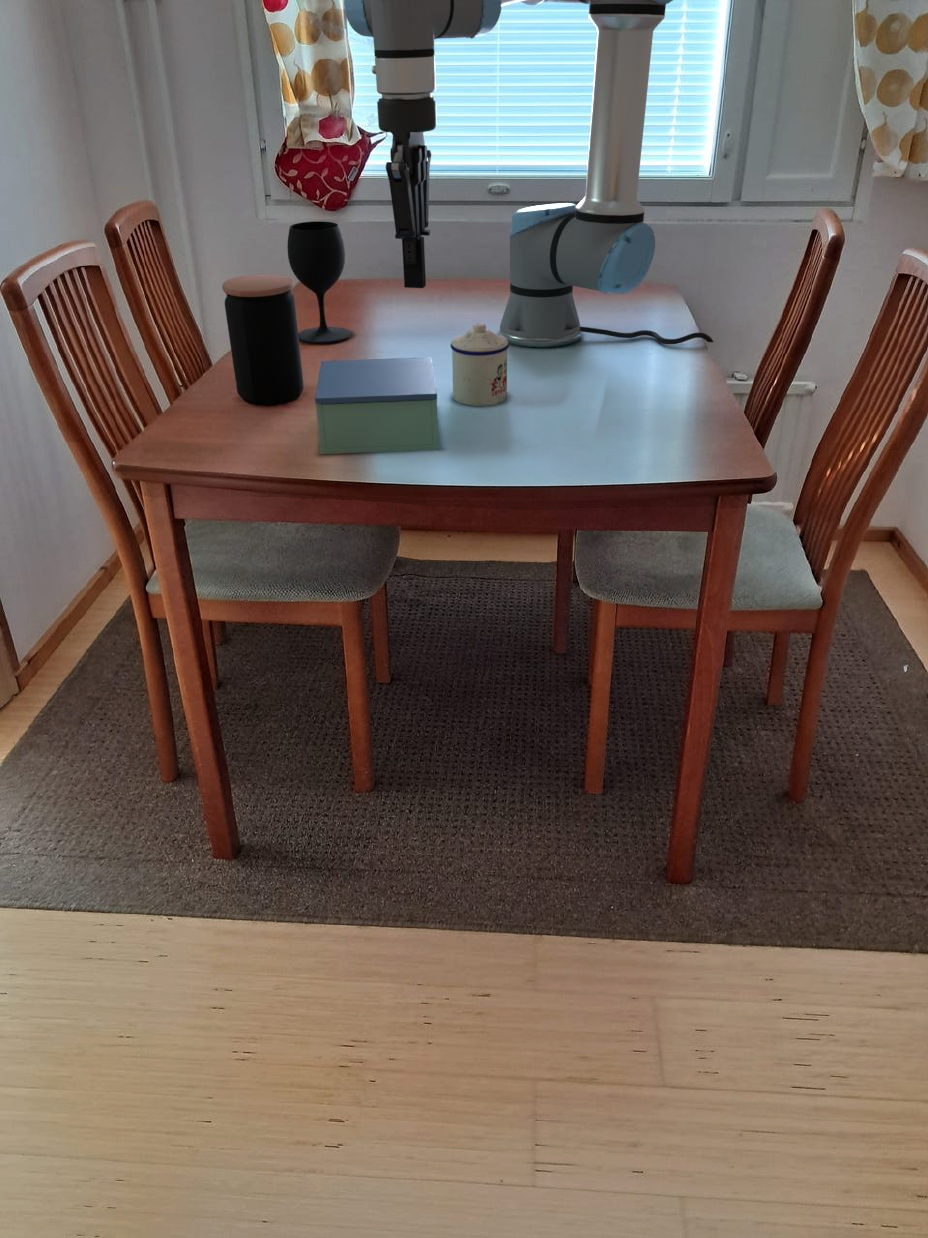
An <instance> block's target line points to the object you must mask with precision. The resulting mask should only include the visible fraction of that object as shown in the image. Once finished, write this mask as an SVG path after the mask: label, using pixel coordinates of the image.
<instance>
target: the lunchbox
mask: <svg viewBox="0 0 928 1238" xmlns="http://www.w3.org/2000/svg"><path fill="white" fill-rule="evenodd" d="M315 409H316V418H317V427H318V429H317V430H318V437H319V438H318V439H319V449H320V455H335V454H336V455H337V454H360V453H361V454H363V453H385V452H386V453H387V452H408V451H410V452H411V451H431V450H432V451H433V450H434V451H435V450H439V424H438V422H439V421H438V420H439V419H438V398H437V399H430V400H404V401H379V402H353V403H328V404H315Z"/></svg>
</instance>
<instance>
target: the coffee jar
mask: <svg viewBox="0 0 928 1238" xmlns="http://www.w3.org/2000/svg"><path fill="white" fill-rule="evenodd" d="M221 287H222V291H223V292H224V294H226V297H225V299H224V311H225V316H226V324H227V331H228V338H229V345H230V352H231V358H232V365H233V373H234V379H235V386H236V393H237V395H238V396H239V397H240V398H241V399H242V401H243V402H244V403H246V404H248V405H250V406H257V407H277V406H282V405H283V406H284V405H286V404H291V403H293V402H295V401H297V400H298V399H299V398H300V397H301V395H302V393H303V392H304V387H305V386H304V376H303V368H302V367H303V366H302V358H301V357H302V356H301V348H300V341H299V337H298V334H299V329H298V320H297V311H296V300H295V295H294V294H293V293H292V292H291V291H292V289H293V279H292V278H291V277H289V276H286V275H281V274H274V273H273V274H270V273H259V274H246V275H241V276H236V277H232V278H228V279H227V280H225V281H223V282H222V285H221Z"/></svg>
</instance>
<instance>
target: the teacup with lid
mask: <svg viewBox="0 0 928 1238" xmlns="http://www.w3.org/2000/svg"><path fill="white" fill-rule="evenodd" d="M509 347H510V343H508V341H507V339H506V338H505V337H503V336H501V335H500V334H498V333H495V332H493V331H492V330H489V329H487V325H486V324H485V323H483V322H476V323H474V324H473V326H472V329H471V330H468V331H466V332H465V333H463V334H459V335H457V336H455V337H454V338H453V339H452V340H451V343H450V348H451V355H452V356H451V358H452V361H451V363H452V397H453V399H454V400H455V401H456V402H457V403H460V404H462V405H466V406H472V407H486V406H494V405H497V404H500V403H502V402H503V401H505V399H506V398H507V397H508V396H507V395H508V349H509Z"/></svg>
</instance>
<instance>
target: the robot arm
mask: <svg viewBox="0 0 928 1238" xmlns="http://www.w3.org/2000/svg"><path fill="white" fill-rule="evenodd" d="M673 1H674V0H343V5H344V12H345V16H346V19H347V22H348V24H349V26H350V27H351V29H352V30H353V31H354V32H355V33H356V34H358V35H360V36H362V37H369V38H373V39H372V40H373V50H374V51H373V52H374V65H373V66H372V67H371V73H372V74H373V75H375V82H376V83H375V84H376V92H377V93H378V94H379V95H381V97H380V98H379V99H378V100H377V102H376V105H377V122H378V129H379V130H380V131H381V132H383V133H390V134H391V135H392V141H391V142H392V143H391V147H390V153H389V155H390V161H387V162H385V172H386V175H387V179H388V183H389V190H390V199H391V206H392V214H393V221H394V228H395V234H394V238H395V239H396V240H399V239H400V240H401V247H402V249H401V250H402V265H403V268H402V269H403V285H404V288H405V289H406V288H408V289H424V288H425V287H426V286H427V281H426V279H427V277H426V256H425V255H426V253H425V236H427V237H428V236H431V229H428V227H429V224H430V223H429V211H430V209H429V206H430V171H431V170H430V169H431V161H432V151H431V150H430V149H428V147H427V145H426V144H425V143H426V142H425V136H424V133H427V132H432V131H434V130H435V129H436V128H437V126H438V124H437V123H438V122H437V121H438V120H437V100H436V99H435V97H434V96H432V93H435V92H436V90H437V84H436V83H437V82H436V56H435V54H436V53H435V40H437V39H441V40H442V39H462V38H463V39H465V38H466V39H474V38H476V37H481V36H486V35H488V34H489V33H491V32H492V31H493V30H494V29H495V27H496V26H497V24H498V22H499V21H500V17H501V13H502V7H504V6H508V5H511V4H515V3H519V2H520V3H523V4H525V5H527V6H536V5H540V4H543V3H545V4H546V3H562V4H578V5H589V8H588V19H589V20H590V21H591V23H592V24H593V25H594V26H595V27H596V31H597V35H596V45H595V47H596V48H595V59H594V60H595V61H594V73H593V75H594V76H593V86H592V87H593V88H592V102H591V115H590V127H589V128H590V129H589V141H588V155H587V168H586V169H587V170H586V181H585V182H586V183H585V196H584V197H583V199H582V200H580V201H579V203H578V204H577V205H576V204H575V203H573V202H572V203H571V202H562V203H561V202H560V203H559V202H557V203H549V204H541V205H540V204H539V205H532V206H528V207H523V208H520V209H518V210H516V211H514V212H513V214H512V216H511V218H510V219H511V220H510V221H511V222H510V232H509V235H508V236H509V296H508V299H507V303H506V305H505V308H504V312H503V315H502V318H501V321H500V324H499V335H501V336H503V337H505V338H506V339H507V341H508V344H511V345H515V346H519V347H520V346H521V347H527V348H555V347H561V346H567V345H570V344H573V343H575V342H577V341H578V340H579V339H580V338H581V333H582V332H583V333H589V334H597V335H604V336H610V337H614V338H620V339H633V338H637V337H641V336H646V337H647V336H649V337H652V338H653V339H655V340H656V341H657V342H659V343H661V344H663V345H677V344H683V343H684V342H687V341H690V340H693V339H703V340H704V341H706V342H707V343H714V340H713V339H712V337H711V336H710V335H708V334H707V333H705V332H699V331H698V332H692V333H689V334H687V335H683V336H681V337H676V338H664V337H663V336H662V335H660V334H659V333H657V332H656V331H654V330H647V329H643V330H636V331H631V332H619V331H614V330H608V329H602V328H595V327H590V326H589V327H587V326H582V325H581V322H580V318H579V313H578V311H577V307H576V302H575V298H574V293H573V292H574V291H573V290H574V287H575V288H581V289H588V290H592V291H597V292H600V293H602V294H614V295H615V294H616V295H625V294H628V293H630V292H633V291H634V290H635V289H636V288H637V287H638V286H639V285H640V284H641V283H642V281H643V280H644V278H645V277H646V276H647V274H648V272H649V270H650V268H651V265H652V262H653V260H654V255H655V251H656V236H655V235H654V234H655V232H654V229H653V228H652V227H651V225H649V224H648V223H645V222H644V221H645V220H644V219H645V208H644V207H643V205H642V204H641V202H640V201H639V200H638V190H639V189H638V188H639V179H640V170H641V169H640V168H641V167H640V166H641V159H642V149H643V139H644V128H645V119H646V108H647V97H648V90H649V89H648V87H649V79H650V69H651V68H650V67H651V57H652V47H653V38H654V37H653V36H654V31H655V29H656V28H657V27H658V26H659V25H660V24H661V22H663V20H665V16H666V8H667V7H666V6H667V5H669V4H670V3H671V2H673Z"/></svg>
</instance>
